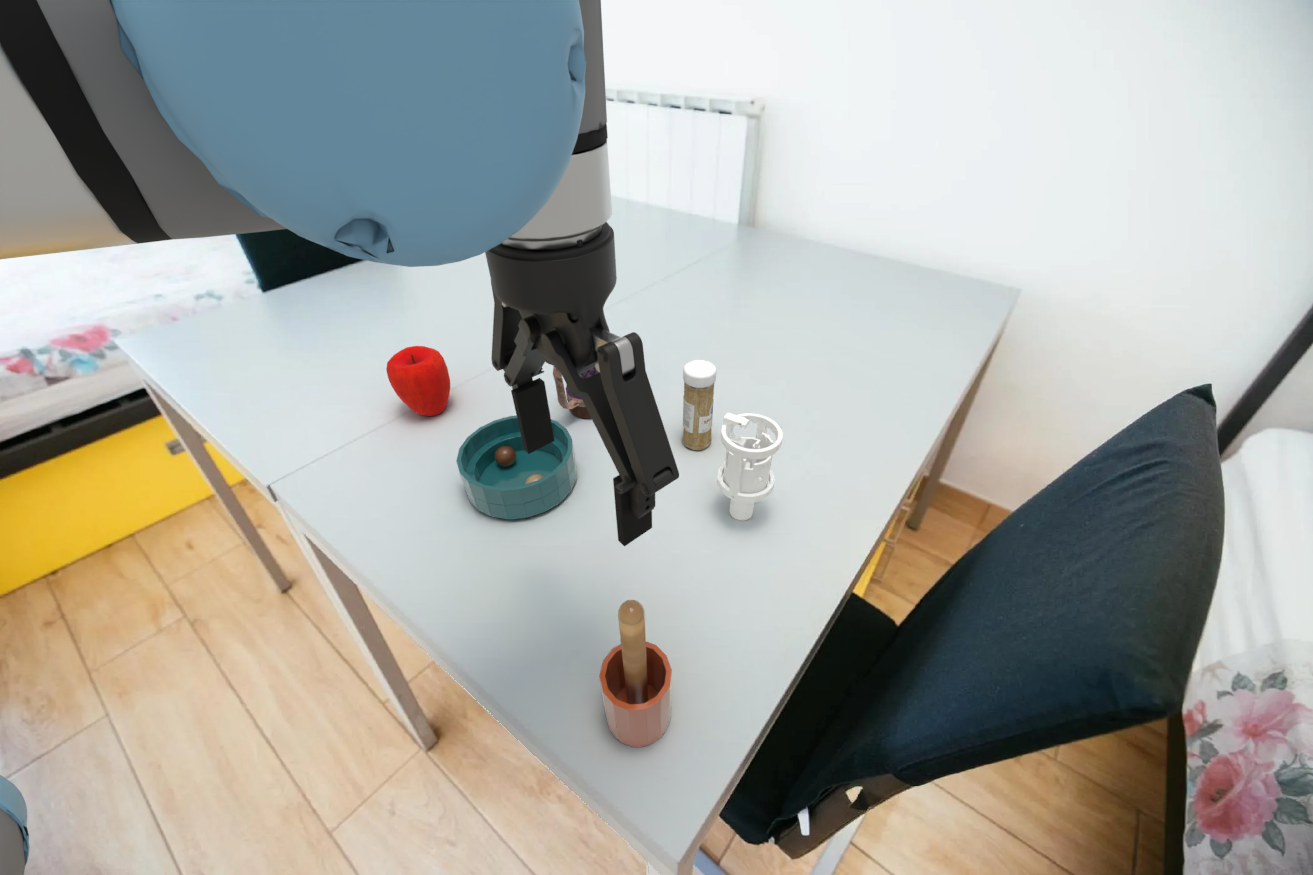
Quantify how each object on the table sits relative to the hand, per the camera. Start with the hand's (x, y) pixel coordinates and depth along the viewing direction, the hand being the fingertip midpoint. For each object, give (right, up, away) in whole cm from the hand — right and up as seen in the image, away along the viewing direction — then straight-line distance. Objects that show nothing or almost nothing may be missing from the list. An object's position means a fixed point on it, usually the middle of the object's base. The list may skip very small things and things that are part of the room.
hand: (583, 486), depth 45 cm
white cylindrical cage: (+17, -6, +27) cm, 33 cm away
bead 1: (-16, +1, +33) cm, 36 cm away
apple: (-31, +9, +45) cm, 56 cm away
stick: (+4, -22, +7) cm, 24 cm away
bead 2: (-10, -2, +28) cm, 30 cm away
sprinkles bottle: (+12, +3, +38) cm, 40 cm away
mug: (-6, +8, +44) cm, 45 cm away
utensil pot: (+4, -23, +8) cm, 24 cm away
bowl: (-13, -2, +32) cm, 34 cm away
